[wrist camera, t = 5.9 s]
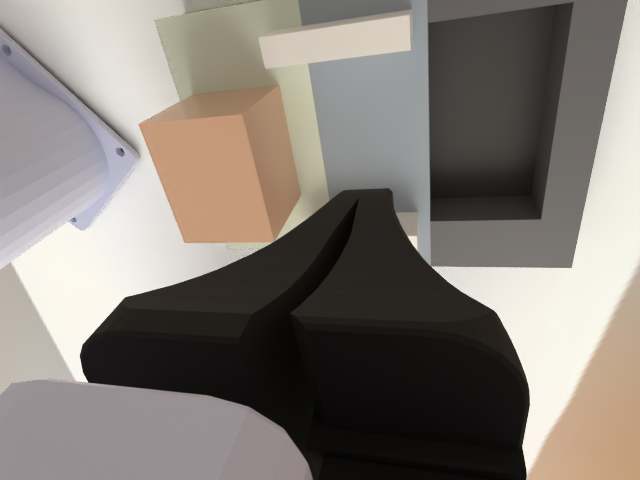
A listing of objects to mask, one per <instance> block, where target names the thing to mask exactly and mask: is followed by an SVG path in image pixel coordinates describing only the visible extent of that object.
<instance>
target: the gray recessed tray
mask: <svg viewBox="0 0 640 480" xmlns="http://www.w3.org/2000/svg"><path fill="white" fill-rule="evenodd" d="M627 1H628V0H298V4H299V10H300V16H301V23H302V26H305V25H311V24H318V23H324V22H331V21H337V20H344V19H350V18H357V17H363V16H370V15H376V14H383V13H389V12H396V11H402V10H409V9H412V15H413V44H412V47H411V50H409V51H401V52H394V53H386V54H378V55H370V56H362V57H354V58H347V59H339V60H331V61H323V62H315V63H308V67H309V74H310V80H311V86H312V93H313V99H314V105H315V112H316V118H317V124H318V131H319V137H320V143H321V150H322V156H323V163H324V169H325V175H326V182H327V188H328V194H329V201H330V200H331V199H332V198H334V197H335V196H336V195H337V194H339V193H340V192H341V191H343V190H357V189H381V188H389V189H390V190H391V191H392V192H393V201H394V210H395V212H418V213H419V241H418V252H419V253H420V255H421V256H422V257H423V258H424V259H425V261H426V262H427V263H428V264H429V265H430V266H455V267H542V268H572V263H573V258H574V253H575V249H576V244H577V239H578V234H579V230H580V225H581V220H582V215H583V210H584V206H585V201H586V196H587V191H588V187H589V182H590V177H591V172H592V168H593V163H594V158H595V153H596V149H597V144H598V139H599V134H600V129H601V125H602V120H603V115H604V110H605V106H606V101H607V96H608V91H609V87H610V82H611V77H612V72H613V68H614V63H615V58H616V53H617V48H618V44H619V39H620V34H621V29H622V25H623V20H624V15H625V10H626V6H627Z"/></svg>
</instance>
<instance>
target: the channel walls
mask: <svg viewBox="0 0 640 480" xmlns="http://www.w3.org/2000/svg"><path fill="white" fill-rule="evenodd" d="M259 43H260V48H261V52H262V57H263V62H264V67H265V69H268V68H276V67H284V66H292V65H299V64H307V63H315V62H323V61H331V60H339V59H347V58H354V57H362V56H370V55H378V54H386V53H394V52H401V51H409V50H411V47H412V44H413V15H412V9H409V10H402V11H396V12H389V13H383V14H376V15H370V16H363V17H357V18H350V19H344V20H337V21H331V22H324V23H318V24H311V25H305V26H298V27H292V28H285V29H279V30H275V31H273V32H270V33H268V34H266V35H263V36H261V37H259ZM311 215H312V214H311ZM396 215H397V217H398V219H399V222H400V224H401V226H402V228H403V230H404V231H405V233H406V235H407V236H408V238H409V240H410V241H411V243H412V244H413V246H414V247H415V248H416V250H417V251H418V241H419V213H418V212H396Z"/></svg>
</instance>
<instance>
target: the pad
mask: <svg viewBox="0 0 640 480" xmlns="http://www.w3.org/2000/svg"><path fill="white" fill-rule="evenodd" d="M154 21H155V24H156V28H157V31H158V34H159V37H160V40H161V43H162V46H163V49H164V52H165V55H166V58H167V61H168V64H169V68H170V71H171V74H172V77H173V80H174V83H175V86H176V89H177V92H178V95H179V98H180V101H182V100H184V99H186V98H187V97H189V96H191V95H195V94H203V93H212V92H221V91H229V90H238V89H247V88H255V87H264V86H273V85H280V90H281V96H282V101H283V106H284V111H285V116H286V121H287V126H288V131H289V136H290V141H291V146H292V151H293V157H294V162H295V167H296V172H297V177H298V182H299V187H300V192H301V196H300V198H299V200H298V202H297V204H296V205H295V207H294V209H293V211H292V212H291V214H290V216H289V218H288V219H287V221H286V223H285V225H284V226H283V228H282V230H281V232H280V233H279V235H278V237H277V239H279V238H281V237H282V236H284V235H285V234H287V233H288V232H289V231H291V230H292V229H294V228H295V227H296V226H298V225H299V224H301V223H302V222H303V221H305V220H306V219H307V218H309V217H310V216H311V214H314V213H315V212H316V211H317V210H319V209H320V208H321V207H322V206H324V205H325V204H326V203H327V202H329V194H328V188H327V182H326V175H325V169H324V163H323V156H322V150H321V143H320V137H319V131H318V124H317V118H316V112H315V105H314V99H313V93H312V86H311V80H310V74H309V67H308V63H307V64H299V65H292V66H284V67H276V68H268V69H265V67H264V62H263V57H262V52H261V48H260V43H259V37H261V36H263V35H266V34H268V33H270V32H273V31H275V30H279V29H285V28H292V27H298V26H302V23H301V16H300V10H299V4H298V0H260V1H255V2H249V3H243V4H238V5H232V6H227V7H221V8H215V9H210V10H204V11H198V12H193V13H187V14H182V15H177V16H172V17H167V18H162V19H157V20H154ZM277 239H276V240H277ZM276 240H275V241H276ZM271 243H273V242H241V243H227V246H228V249H262V248H264V247H266V246H267V245H269V244H271Z"/></svg>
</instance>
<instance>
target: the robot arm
mask: <svg viewBox="0 0 640 480" xmlns="http://www.w3.org/2000/svg"><path fill="white" fill-rule="evenodd" d="M8 47H9V48H10V50H11V52H10V50H9V48H8ZM120 148H121V149H123V151H124V153H125V154H124V153H123V152H122V151H121V149H120ZM138 163H139V155H138V153H137V152H136V151H135V150H134V149H133V148H132V147H131V146H130V145H128V144H127V143H126V142H125V141H124V140H123V139H122V138H121V137H120V136H119V135H117V134H116V133H115V132H114V131H113V130H112V129H111V128H110V127H109V126H108V125H106V124H105V123H104V122H103V121H102V120H101V119H100V118H99V117H98V116H96V115H95V114H94V113H93V112H92V111H91V110H90V109H89V108H88V107H87V106H85V105H84V104H83V103H82V102H81V101H80V100H79V99H78V98H77V97H76V96H74V95H73V94H72V93H71V92H70V91H69V90H68V89H67V88H66V87H65V86H63V85H62V84H61V83H60V82H59V81H58V80H57V79H56V78H55V77H53V76H52V75H51V74H50V73H49V72H48V71H47V70H46V69H45V68H44V67H42V66H41V65H40V64H39V63H38V62H37V61H36V60H35V59H34V58H33V57H31V56H30V55H29V54H28V53H27V52H26V51H25V50H24V49H23V48H21V47H20V46H19V45H18V44H17V43H16V42H15V41H14V40H13V39H12V38H10V37H9V36H8V35H7V34H6V33H5V32H4V31H3V30H2V29H1V28H0V269H1V268H3V267H4V266H6V265H7V264H8V263H10V262H11V261H13V260H14V259H16V258H17V257H18V256H20V255H21V254H23V253H24V252H25V251H27V250H28V249H30V248H31V247H33V246H34V245H35V244H37V243H38V242H40V241H41V240H42V239H44V238H45V237H47V236H48V235H50V234H51V233H52V232H54V231H55V230H57V229H58V228H59V227H61V226H62V225H64V224H65V223H66V222H68V221H69V222H70V223H71V224H72V225H74V226H75V227H76V228H78V229H79V230H86V229H87V228H88V227H90V225H91V224H92V223H93V221H94V220H95V219H96V218H97V216H98V215H99V214H100V212H101V211H102V210H103V208H104V207H105V206H106V205H107V203H108V202H109V201H110V199H111V198H112V197H113V195H114V194H115V193H116V191H117V190H118V189H119V188H120V186H121V185H122V184H123V182H124V181H125V180H126V178H127V177H128V176H129V175H130V173H131V172H132V171H133V169H134V168H135V167H136V165H137V164H138ZM80 359H81V364H82V369H83V373H84V375H85V377H86V379H87V381H88V383H86V382H77V381H67V380H58V379H40V380H33V381H26V382H19V383H13V384H11V385H10V386H9V387H8V388H7V389H6V390H5V391H4V392H3V393H2V394H1V395H0V480H526V477H527V476H526V466H525V460H524V455H523V450H522V444H523V439H524V433H525V428H526V423H527V417H528V412H529V406H530V397H529V387H528V383H527V379H526V376H525V373H524V370H523V367H522V365H521V362H520V360H519V357H518V355H517V352H516V350H515V348H514V346H513V343H512V341H511V339H510V337H509V335H508V333H507V331H506V330H505V328H504V326H503V324H502V322H501V320H500V318H499V317H498V315H497V313H496V312H495V311H493V310H492V309H490V308H489V307H487V306H485V305H483V304H482V303H480V302H478V301H476V300H475V299H473V298H471V297H469V296H468V295H466V294H464V293H462V292H461V291H459V290H458V289H457V288H455V287H454V286H453V285H451V284H450V283H448V282H447V281H446V280H445V279H444V278H443V277H442V276H441V275H440V274H438V273H437V272H436V271H435V270H434V269H433V268H432V267H431V266H430V265H429V264H428V263H427V262H426V261H425V259H424V258H423V257H422V256H421V255H420V253H419V252H418V251H417V250H416V248H415V247H414V246H413V244H412V243H411V241H410V240H409V238H408V236H407V235H406V233H405V231H404V230H403V228H402V226H401V224H400V222H399V219H398V217H397V215H396V212H395V210H394V201H393V192H392V191H391V190H390V189H389V188H381V189H357V190H343V191H341V192H340V193H339V194H337V195H336V196H335V197H334V198H332V199H331V200H330V201H329V202H327V203H326V204H325V205H324V206H322V207H321V208H320V209H319V210H317V211H316V212H315V213H314V214H312V215H311V216H310V217H309V218H307V219H306V220H305V221H303V222H302V223H301V224H299V225H298V226H296V227H295V228H294V229H292V230H291V231H289V232H288V233H287V234H285V235H284V236H282V237H281V238H279V239H277V240H276V241H274V242H273V243H271V244H269V245H267V246H266V247H264V248H262V249H260V250H258V251H257V252H255V253H253V254H251V255H249V256H247V257H244V258H242V259H240V260H238V261H236V262H233V263H231V264H229V265H227V266H225V267H222V268H220V269H218V270H215V271H213V272H210V273H207V274H205V275H202V276H199V277H196V278H193V279H190V280H187V281H184V282H181V283H178V284H175V285H171V286H168V287H164V288H160V289H156V290H152V291H149V292H145V293H141V294H137V295H133V296H129V297H126V298H124V299H123V300H122V302H121V303H120V304H119V305H118V306H117V307H116V308H115V309H114V311H113V312H112V313H111V314H110V315H109V316H108V317H107V318H106V319H105V321H104V322H103V323H102V324H101V325H100V326H99V327H98V328H97V329H96V331H95V332H94V333H93V334H92V335H91V336H90V337H89V338H88V339H87V341H86V342H85V343H84V344H83V346H82V350H81V354H80Z"/></svg>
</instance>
